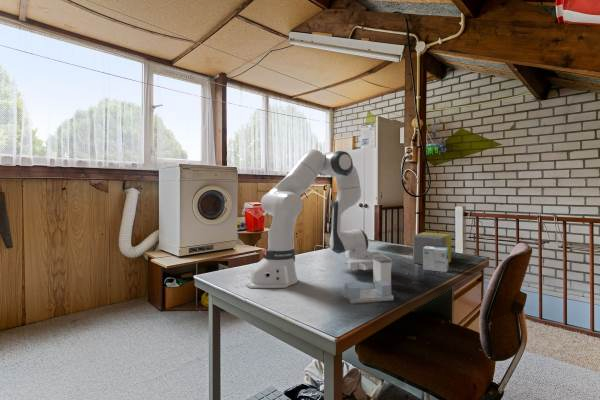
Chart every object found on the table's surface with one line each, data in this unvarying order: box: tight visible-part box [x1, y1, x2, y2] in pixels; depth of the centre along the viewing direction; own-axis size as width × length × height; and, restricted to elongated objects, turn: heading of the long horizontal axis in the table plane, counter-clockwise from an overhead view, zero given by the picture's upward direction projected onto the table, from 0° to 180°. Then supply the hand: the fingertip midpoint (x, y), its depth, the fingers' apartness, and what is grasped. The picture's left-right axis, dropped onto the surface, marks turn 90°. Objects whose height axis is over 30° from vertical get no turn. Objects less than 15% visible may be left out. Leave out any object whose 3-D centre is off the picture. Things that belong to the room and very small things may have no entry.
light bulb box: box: [422, 246, 449, 273], centre depth 151 cm, size 11×7×11 cm, turn 58°
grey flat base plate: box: [342, 288, 394, 305], centre depth 113 cm, size 16×8×2 cm, turn 101°
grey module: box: [372, 255, 392, 286], centre depth 128 cm, size 5×7×11 cm, turn 11°
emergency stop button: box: [412, 231, 452, 266], centre depth 167 cm, size 15×24×15 cm, turn 139°
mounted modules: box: [344, 280, 392, 298], centre depth 113 cm, size 16×6×4 cm, turn 101°
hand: (376, 267), depth 133 cm, fingers open, 8 cm apart
